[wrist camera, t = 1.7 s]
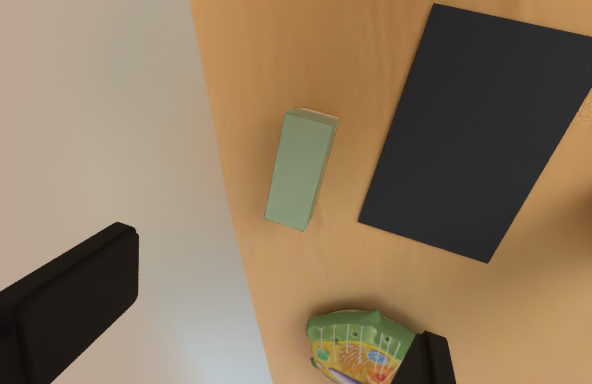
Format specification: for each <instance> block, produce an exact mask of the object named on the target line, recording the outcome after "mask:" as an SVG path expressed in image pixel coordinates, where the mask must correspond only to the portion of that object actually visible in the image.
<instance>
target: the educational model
mask: <svg viewBox="0 0 592 384" xmlns="http://www.w3.org/2000/svg"><path fill="white" fill-rule="evenodd" d="M306 334H307V336H308V338H309V340H310V342H311V352H312V356H313V358H310V359H311V362H312V365H313V366H314V367H315V368H317V369H318V370H319V371H321V372H322V373H323V374H324V375H325V376H327V377H328V378H329V379H331V380H332V381H334V382H335V383H337V384H391V382H392V380H393V378H394V376H395V374H396V372H397V370H398V368H399V366H400V364H401V362H402V360H403V358H404V356H405V354H406V352H407V351H408V349H409V347H410V345H411V343H412V341H413V339H414V337H415V335H416V334H415V333H414V332H413V331H412V330H410V329H409V328H407V327H406V326H404V325H402V324H401V323H398V322H396V321H394V320H392V319H389V318H387V317H385V316H383V315H381V314H380V310H378V309H375V310H371V311H368V310H360V309H352V310H341V311H335V312H331V313H327V314H323V315H318V316H314V317H311V318H310V319H309V320H308V322H307V325H306Z"/></svg>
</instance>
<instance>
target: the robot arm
mask: <svg viewBox="0 0 592 384" xmlns="http://www.w3.org/2000/svg"><path fill="white" fill-rule="evenodd" d="M138 268H139V235H138V234H137V233H136V230H135V228H134V227H132V226H129V225H126V224H123V223H120V222H116V223H113V224H112V225H110V226H108V227H107V228H105V229H103V230H102V231H100V232H98V233H97V234H95V235H93V236H92V237H90V238H89V239H87V240H85V241H84V242H82V243H80V244H79V245H77V246H75V247H73V248H72V249H70V250H69V251H67V252H65V253H63V254H62V255H60V256H59V257H57V258H55V259H53V260H52V261H50V262H48V263H47V264H45V265H43V266H42V267H40V268H38V269H37V270H35V271H34V272H32V273H30V274H29V275H27V276H25V277H24V278H22V279H20V280H19V281H17V282H15V283H14V284H12V285H10V286H9V287H7V288H5V289H4V290H2V291H0V384H50V383H52V381H54V380H55V379H56V378H57V377H58V376H59V375H60V374H61V373H62V372H63V371H64V370H65V369H66V368H67V367H68V366H69V365H70V364H71V363H72V362H73V361H74V360H75V359H76V358H77V357H78V356H80V355H81V354H82V353H83V352H84V351H85V350H86V349H87V348H88V347H89V346H90V345H91V344H92V343H93V342H94V341H95V340H96V339H97V338H98V337H99V336H100V335H101V334H102V333H103V332H104V331H105V330H107V328H109V327H110V326H111V325H112V324H113V323H114V322H115V321H116V320H117V319H118V318H119V317H120V316H121V315H122V314H123V313H124V312H125V311H126V310H127V309H128V308H129V307H130V306H131V305H132V304H133V303H134V302H135V300H136V299H137V296H138ZM391 384H456V380H455V375H454V371H453V366H452V361H451V356H450V351H449V347H448V342H447V339H446V338H445V337H442V336H439V335H436V334H434V333H431V332H428V331H425V332H423V334H422V335H421V334H418V333H417V334H416V335H415V337H414V339H413V341H412V343H411V345H410V347H409V349H408V351H407V352H406V354H405V356H404V358H403V360H402V362H401V364H400V366H399V368H398V370H397V372H396V374H395V376H394V378H393V380H392V382H391Z"/></svg>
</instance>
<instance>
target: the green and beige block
mask: <svg viewBox="0 0 592 384" xmlns="http://www.w3.org/2000/svg"><path fill="white" fill-rule="evenodd" d="M338 121H339V117H337V116H333V115H329V114H326V113H322V112H319V111H315V110H311V109H308V108H304V107H303V108H301V109H299V108H293V109H292V110H290V111H288V112H286V113H285V116H284V121H283V126H282V131H281V136H280V141H279V146H278V151H277V156H276V161H275V166H274V171H273V176H272V180H271V185H270V190H269V195H268V200H267V205H266V210H265V215H264V218H265V219H267V220H270V221H273V222H276V223H279V224H282V225H285V226H288V227H291V228H294V229H297V230H300V231H303V232H304V231H305V230H306V228H307V226H308V224H309V222H310V220H311V218H312V214H313V211H314V207H315V204H316V201H317V197H318V193H319V190H320V186H321V183H322V179H323V175H324V172H325V168H326V164H327V161H328V157H329V153H330V150H331V146H332V143H333V139H334V135H335V132H336V128H337V124H338Z"/></svg>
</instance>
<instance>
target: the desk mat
mask: <svg viewBox="0 0 592 384" xmlns="http://www.w3.org/2000/svg"><path fill="white" fill-rule="evenodd" d="M591 88H592V37H589V36H585V35H580V34H575V33H571V32H566V31H561V30H557V29H552V28H547V27H543V26H538V25H533V24H529V23H524V22H519V21H515V20H510V19H505V18H501V17H496V16H491V15H487V14H482V13H477V12H473V11H468V10H463V9H459V8H454V7H449V6H445V5H440V4H435V3H434V4H433V7H432V10H431V13H430V15H429V18H428V21H427V24H426V27H425V30H424V33H423V36H422V38H421V41H420V44H419V47H418V50H417V53H416V56H415V59H414V61H413V64H412V67H411V70H410V73H409V76H408V79H407V82H406V84H405V87H404V90H403V93H402V96H401V99H400V102H399V105H398V107H397V110H396V113H395V116H394V119H393V122H392V125H391V128H390V130H389V133H388V136H387V139H386V142H385V145H384V148H383V151H382V153H381V156H380V159H379V162H378V165H377V168H376V171H375V173H374V176H373V179H372V182H371V185H370V188H369V191H368V194H367V196H366V199H365V202H364V205H363V208H362V211H361V214H360V217H359V219H358V222H360V223H363V224H366V225H369V226H373V227H376V228H379V229H382V230H385V231H388V232H391V233H394V234H397V235H400V236H404V237H407V238H410V239H413V240H416V241H419V242H422V243H425V244H428V245H431V246H435V247H438V248H441V249H444V250H447V251H450V252H453V253H456V254H459V255H462V256H466V257H469V258H472V259H475V260H478V261H481V262H484V263H487V264H488V263H489V261H490V259H491V257H492V256H493V254H494V252H495V251H496V249H497V247H498V246H499V244H500V242H501V241H502V239H503V237H504V235H505V234H506V232H507V230H508V229H509V227H510V225H511V224H512V222H513V220H514V218H515V217H516V215H517V213H518V212H519V210H520V208H521V207H522V205H523V203H524V201H525V200H526V198H527V196H528V195H529V193H530V191H531V190H532V188H533V186H534V184H535V183H536V181H537V179H538V178H539V176H540V174H541V173H542V171H543V169H544V167H545V166H546V164H547V162H548V161H549V159H550V157H551V156H552V154H553V152H554V150H555V149H556V147H557V145H558V144H559V142H560V140H561V139H562V137H563V135H564V134H565V132H566V130H567V128H568V127H569V125H570V123H571V122H572V120H573V118H574V117H575V115H576V113H577V111H578V110H579V108H580V106H581V105H582V103H583V101H584V100H585V98H586V96H587V94H588V93H589V91H590V89H591Z"/></svg>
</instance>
